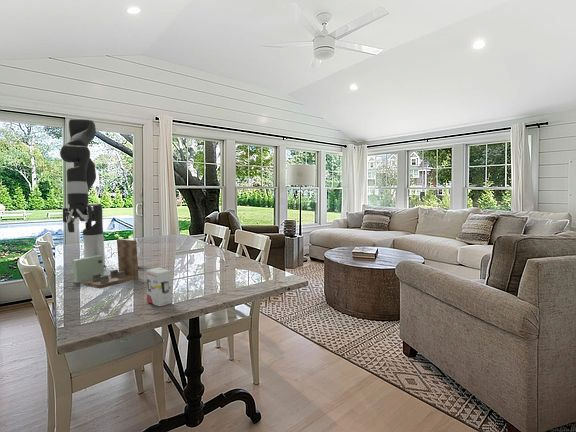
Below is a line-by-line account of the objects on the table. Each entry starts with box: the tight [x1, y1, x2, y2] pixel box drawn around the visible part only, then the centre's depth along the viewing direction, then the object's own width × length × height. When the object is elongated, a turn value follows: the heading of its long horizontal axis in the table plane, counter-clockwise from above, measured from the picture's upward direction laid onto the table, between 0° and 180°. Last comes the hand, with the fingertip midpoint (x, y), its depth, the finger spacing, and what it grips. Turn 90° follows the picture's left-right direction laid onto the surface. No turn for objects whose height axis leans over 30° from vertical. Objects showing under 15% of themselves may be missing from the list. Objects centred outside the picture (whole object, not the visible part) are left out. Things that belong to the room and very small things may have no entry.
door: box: [72, 255, 105, 284], centre depth 153 cm, size 3×12×10 cm, turn 151°
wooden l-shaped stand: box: [83, 238, 139, 289], centre depth 150 cm, size 12×18×17 cm, turn 150°
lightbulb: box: [137, 245, 141, 259], centre depth 178 cm, size 6×6×11 cm
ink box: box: [146, 267, 172, 307], centre depth 120 cm, size 9×5×12 cm, turn 50°
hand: (79, 231), depth 142 cm, fingers open, 8 cm apart
